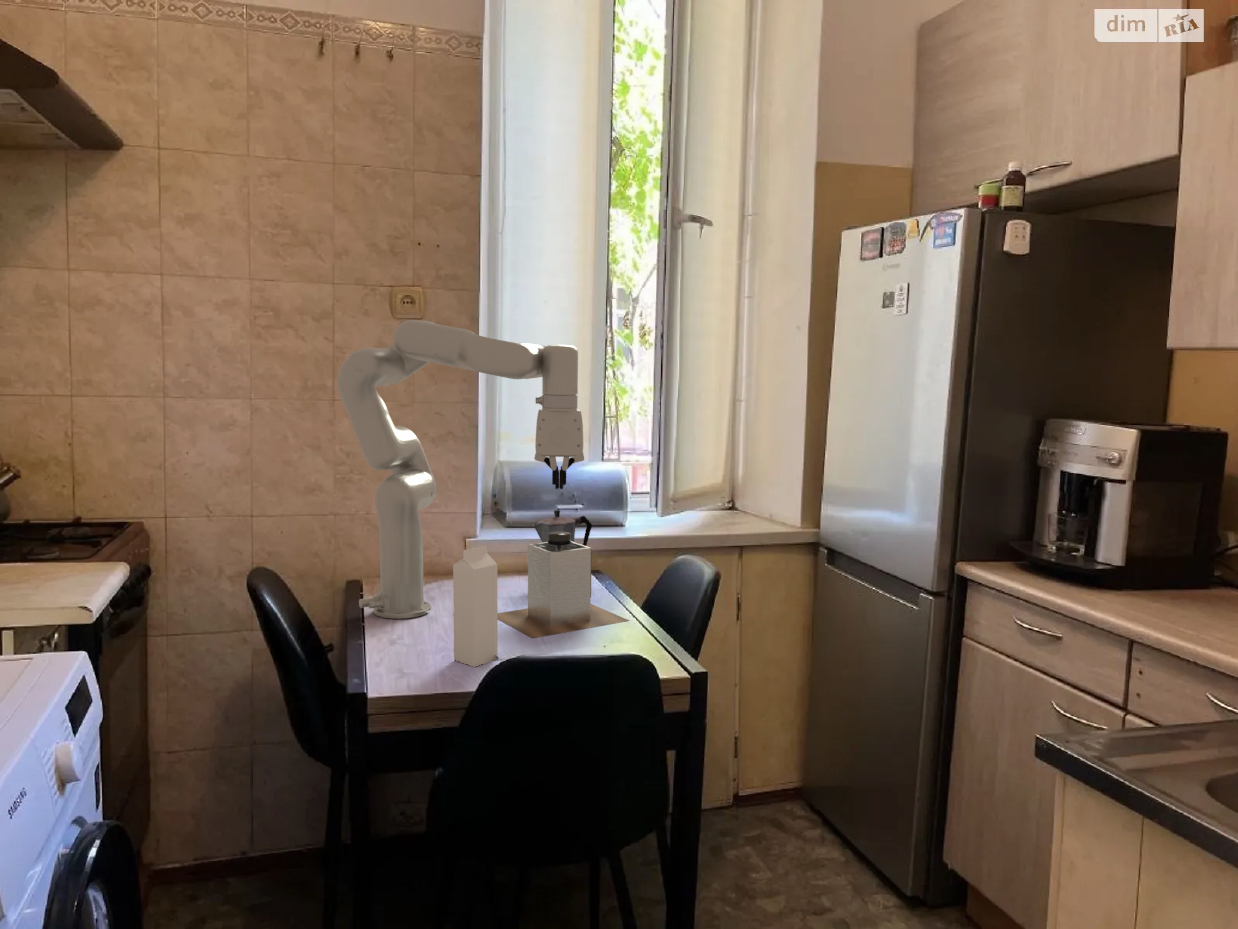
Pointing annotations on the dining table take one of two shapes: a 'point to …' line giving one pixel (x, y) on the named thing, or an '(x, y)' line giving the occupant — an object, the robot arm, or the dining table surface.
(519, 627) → the walnut board
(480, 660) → the milk
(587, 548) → the open box
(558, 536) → the plunger
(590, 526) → the moka pot
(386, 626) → the dining table surface
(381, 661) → the dining table surface
